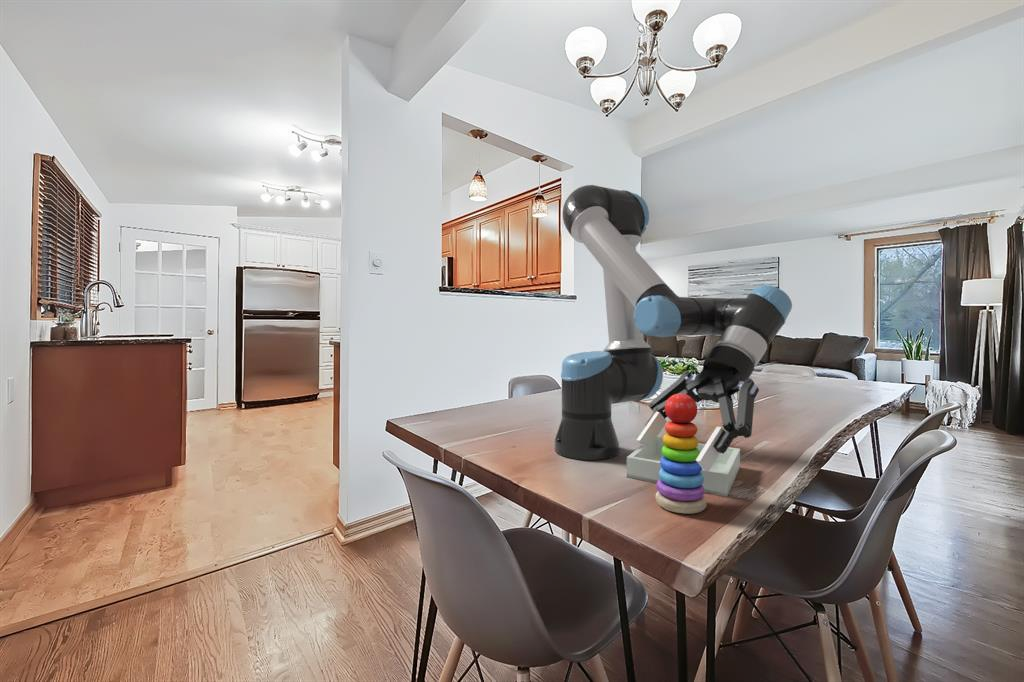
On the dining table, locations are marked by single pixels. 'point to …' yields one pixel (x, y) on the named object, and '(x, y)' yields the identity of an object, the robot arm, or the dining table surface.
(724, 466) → the tray
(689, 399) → the stacking toy
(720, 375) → the robot arm
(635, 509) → the dining table surface
